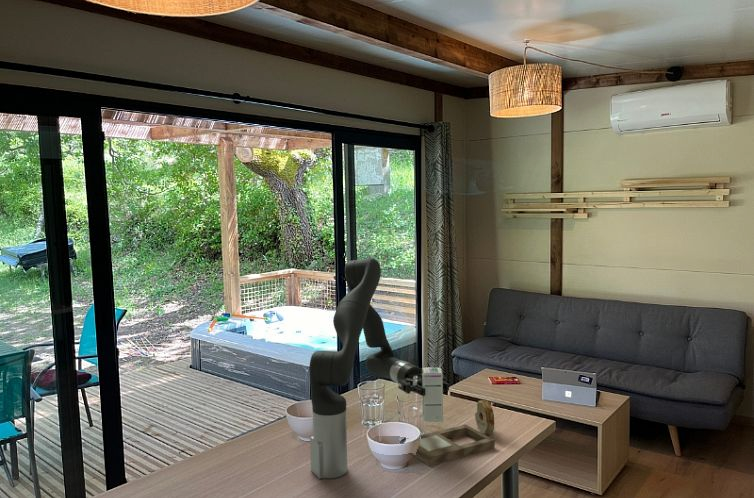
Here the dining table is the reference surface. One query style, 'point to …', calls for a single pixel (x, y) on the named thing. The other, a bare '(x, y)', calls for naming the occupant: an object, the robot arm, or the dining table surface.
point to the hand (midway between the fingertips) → (436, 390)
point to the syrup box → (432, 394)
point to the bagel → (484, 417)
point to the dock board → (451, 445)
